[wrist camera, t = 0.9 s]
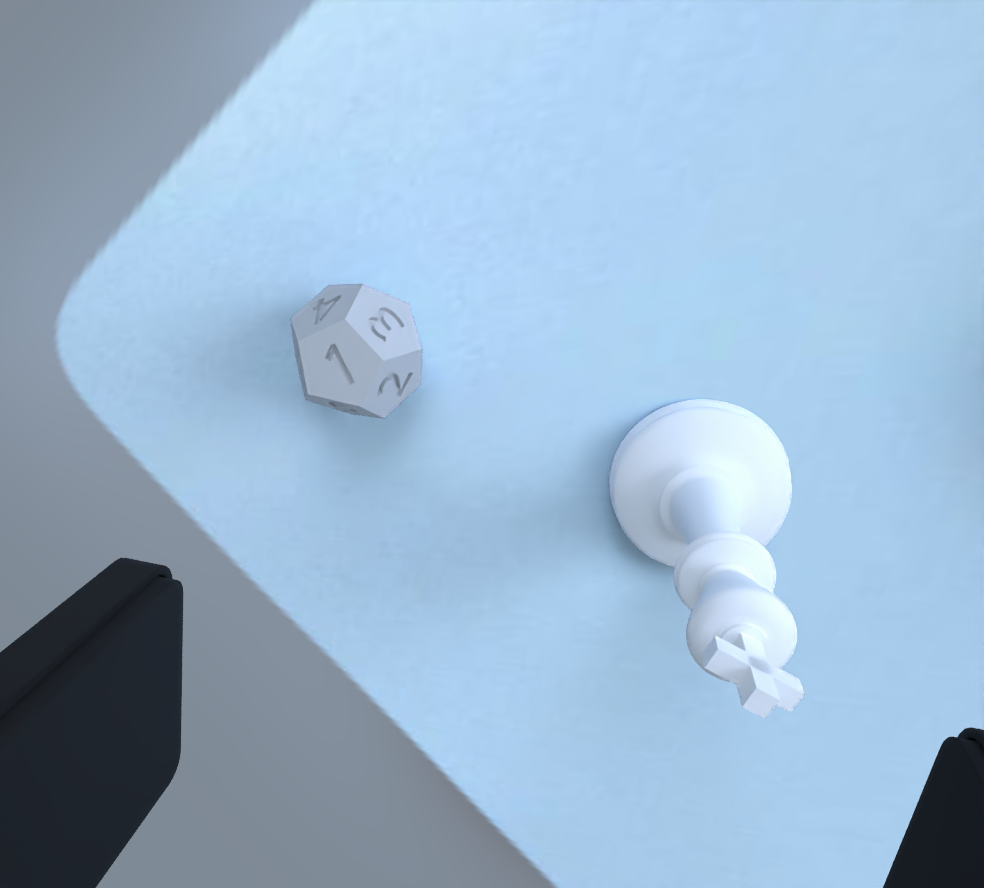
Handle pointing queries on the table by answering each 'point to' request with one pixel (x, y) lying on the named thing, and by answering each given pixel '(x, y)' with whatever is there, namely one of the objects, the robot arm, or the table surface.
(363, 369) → the game die
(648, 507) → the chess piece
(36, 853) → the robot arm
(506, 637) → the table surface
